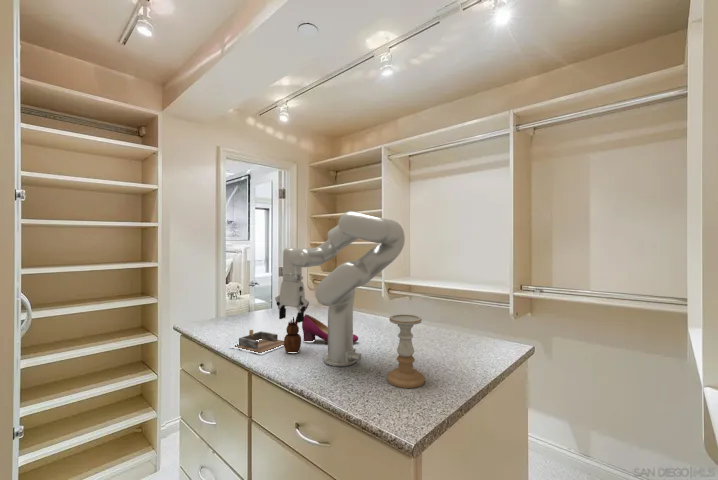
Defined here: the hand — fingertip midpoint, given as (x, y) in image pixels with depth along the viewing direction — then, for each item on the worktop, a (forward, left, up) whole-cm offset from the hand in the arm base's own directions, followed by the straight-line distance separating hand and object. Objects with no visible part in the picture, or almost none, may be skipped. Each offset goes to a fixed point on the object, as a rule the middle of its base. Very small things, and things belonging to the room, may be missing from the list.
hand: (291, 320), depth 132 cm
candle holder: (-51, +2, -13) cm, 52 cm away
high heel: (-6, -18, -14) cm, 24 cm away
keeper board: (+17, +1, -13) cm, 22 cm away
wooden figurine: (-1, 0, -13) cm, 13 cm away
